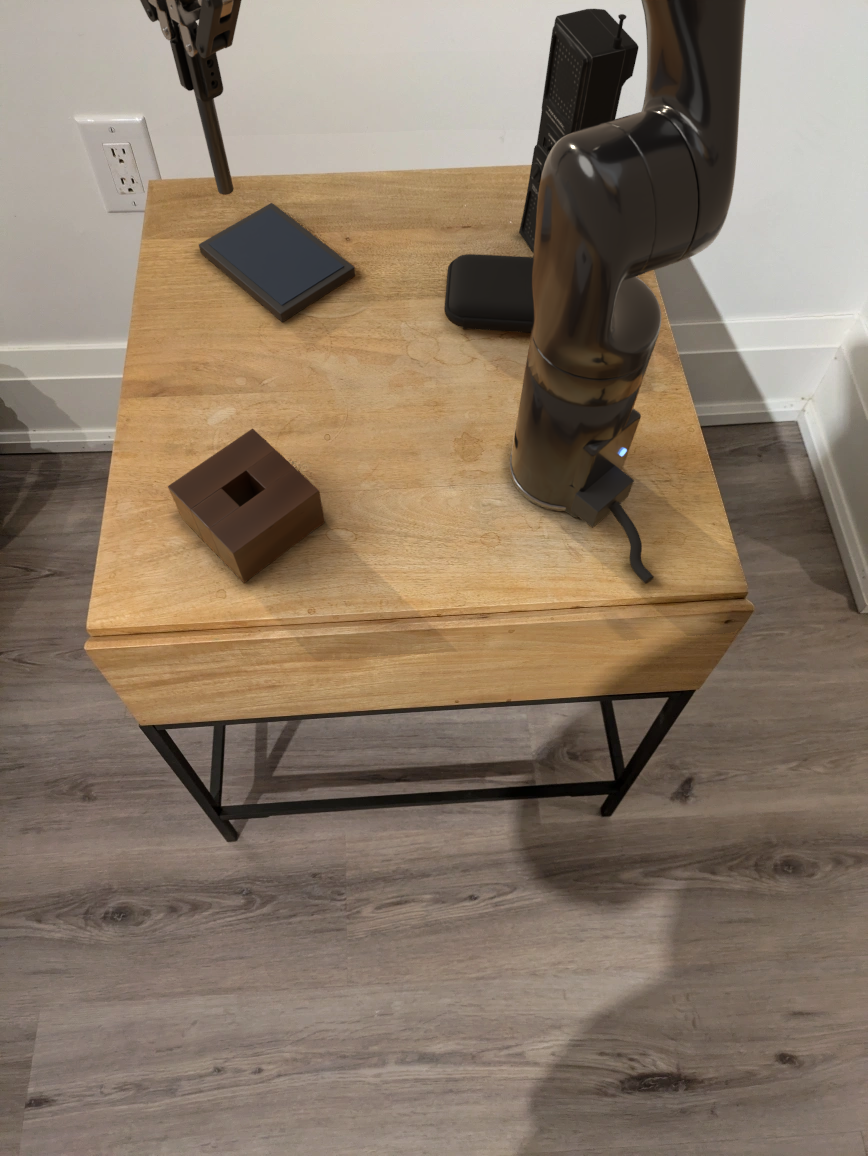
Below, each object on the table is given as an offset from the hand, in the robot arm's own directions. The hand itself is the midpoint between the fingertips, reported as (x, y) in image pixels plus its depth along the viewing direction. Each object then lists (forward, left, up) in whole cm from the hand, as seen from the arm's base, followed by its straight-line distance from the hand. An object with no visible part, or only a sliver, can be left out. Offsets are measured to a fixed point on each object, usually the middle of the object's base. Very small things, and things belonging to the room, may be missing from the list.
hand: (203, 90), depth 68 cm
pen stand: (-21, +16, -23) cm, 35 cm away
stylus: (0, 0, -9) cm, 9 cm away
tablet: (+3, -6, -23) cm, 23 cm away
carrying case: (-19, -20, -23) cm, 36 cm away
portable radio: (-15, -30, -23) cm, 40 cm away
